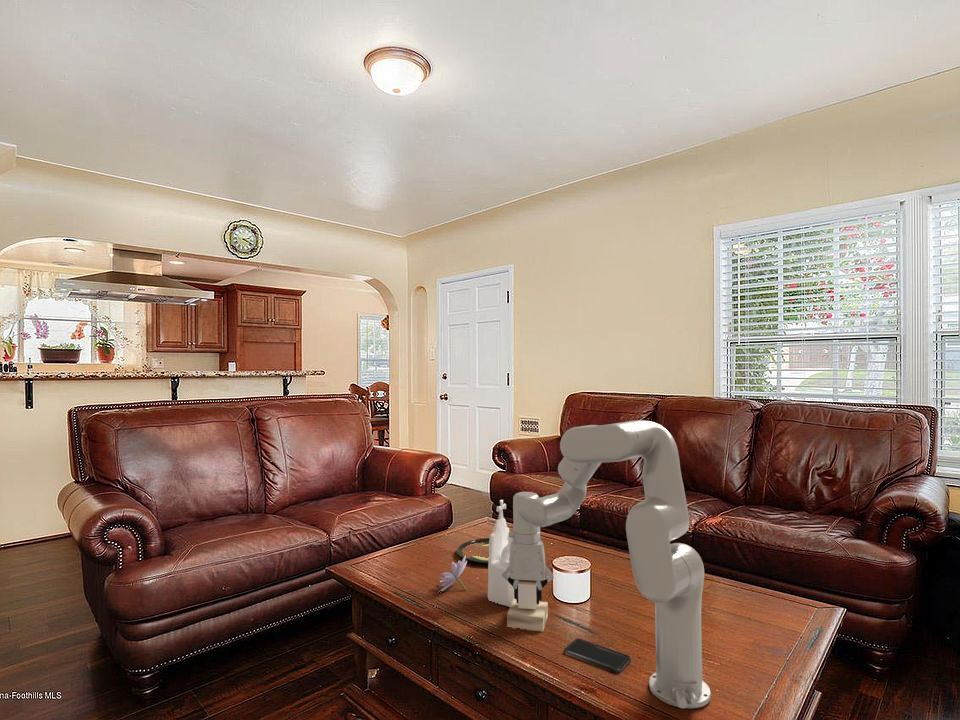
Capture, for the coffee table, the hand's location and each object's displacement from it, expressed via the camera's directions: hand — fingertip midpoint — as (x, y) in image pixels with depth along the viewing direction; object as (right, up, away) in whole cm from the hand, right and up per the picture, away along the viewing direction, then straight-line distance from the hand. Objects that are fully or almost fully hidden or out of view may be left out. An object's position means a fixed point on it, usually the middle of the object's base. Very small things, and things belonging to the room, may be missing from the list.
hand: (528, 601), depth 148 cm
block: (0, -6, 0) cm, 6 cm away
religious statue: (-2, -6, +15) cm, 17 cm away
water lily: (-23, -7, +23) cm, 33 cm away
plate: (-8, -7, +54) cm, 55 cm away
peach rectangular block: (0, -1, 0) cm, 1 cm away
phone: (+15, -6, -19) cm, 25 cm away
